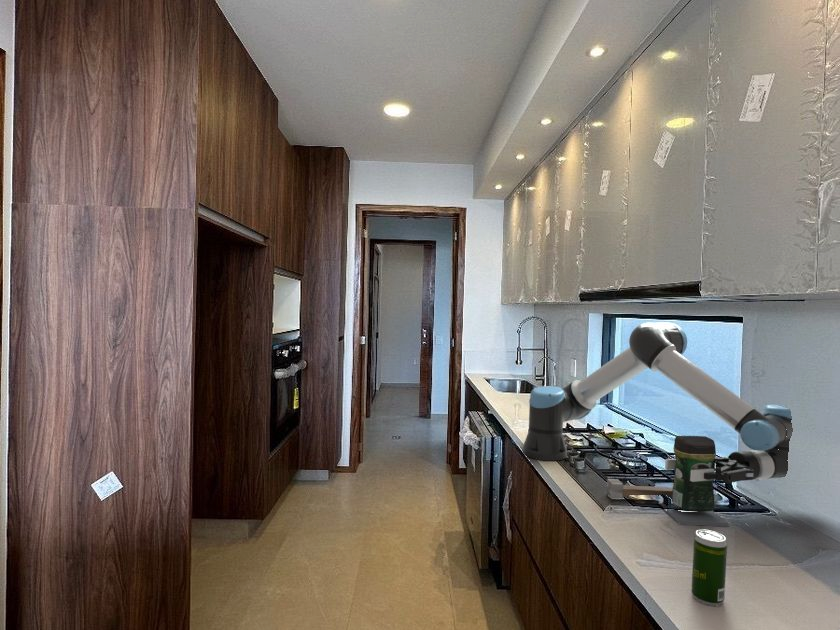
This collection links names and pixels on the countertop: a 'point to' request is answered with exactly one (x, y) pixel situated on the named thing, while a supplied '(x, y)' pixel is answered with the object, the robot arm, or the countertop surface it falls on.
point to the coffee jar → (690, 457)
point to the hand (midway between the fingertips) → (678, 470)
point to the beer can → (709, 567)
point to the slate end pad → (697, 518)
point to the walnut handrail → (634, 490)
